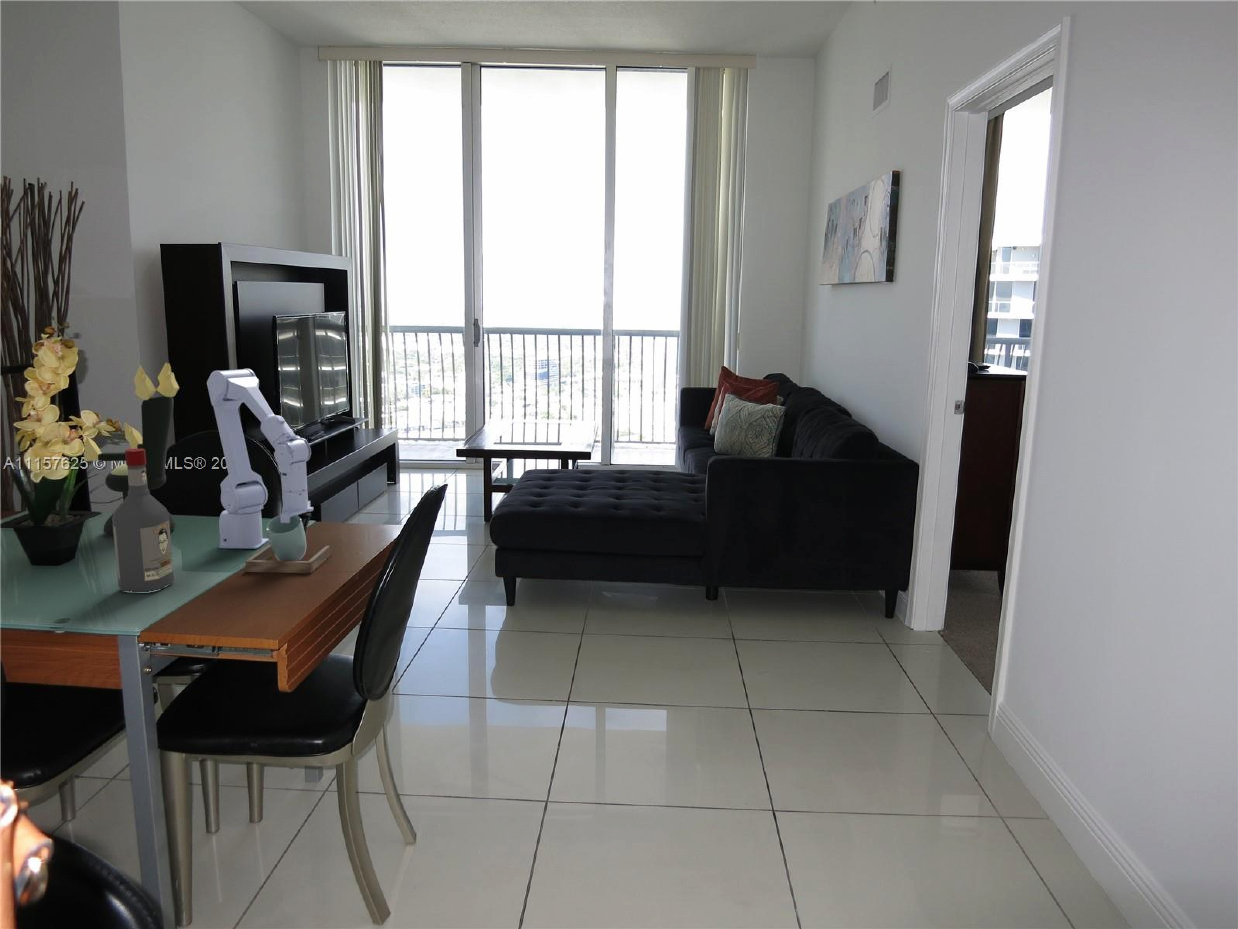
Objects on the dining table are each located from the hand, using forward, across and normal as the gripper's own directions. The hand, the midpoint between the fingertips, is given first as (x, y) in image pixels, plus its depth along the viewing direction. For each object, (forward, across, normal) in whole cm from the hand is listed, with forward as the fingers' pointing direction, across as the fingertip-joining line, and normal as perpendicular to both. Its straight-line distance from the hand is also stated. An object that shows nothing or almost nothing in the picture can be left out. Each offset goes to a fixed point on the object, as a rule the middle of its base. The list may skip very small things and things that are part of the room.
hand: (297, 544), depth 211 cm
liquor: (+3, -24, +24) cm, 34 cm away
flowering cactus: (+3, +19, +46) cm, 50 cm away
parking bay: (+3, -5, 0) cm, 6 cm away
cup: (+2, -4, 0) cm, 5 cm away
